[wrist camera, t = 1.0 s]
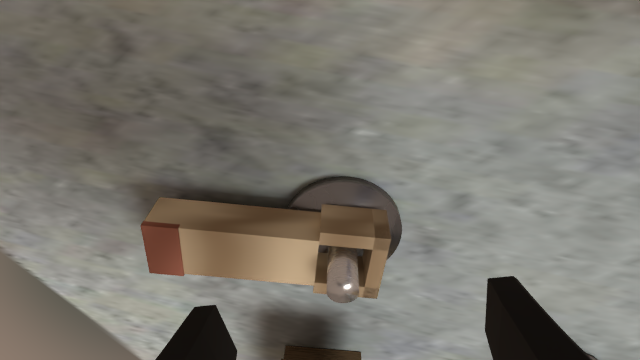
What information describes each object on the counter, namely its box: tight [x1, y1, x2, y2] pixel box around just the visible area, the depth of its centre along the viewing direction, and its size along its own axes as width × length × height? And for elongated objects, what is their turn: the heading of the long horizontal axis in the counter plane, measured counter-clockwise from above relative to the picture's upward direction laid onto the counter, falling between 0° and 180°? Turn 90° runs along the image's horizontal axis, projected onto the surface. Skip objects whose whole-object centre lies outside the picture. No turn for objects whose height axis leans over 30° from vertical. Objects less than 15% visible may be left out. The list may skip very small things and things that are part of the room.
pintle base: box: [287, 177, 402, 303], centre depth 19 cm, size 6×6×4 cm
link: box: [141, 197, 391, 299], centre depth 20 cm, size 11×4×2 cm, turn 85°
